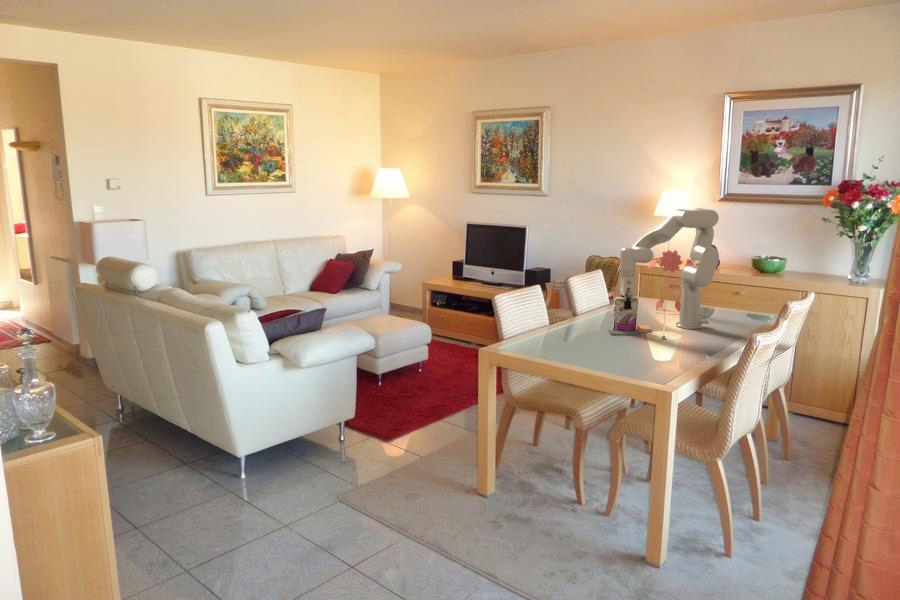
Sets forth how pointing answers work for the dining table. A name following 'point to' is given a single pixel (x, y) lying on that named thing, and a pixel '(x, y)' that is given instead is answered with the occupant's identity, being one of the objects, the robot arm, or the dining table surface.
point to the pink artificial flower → (670, 263)
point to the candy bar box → (624, 314)
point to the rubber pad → (623, 332)
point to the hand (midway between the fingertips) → (625, 306)
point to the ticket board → (643, 328)
